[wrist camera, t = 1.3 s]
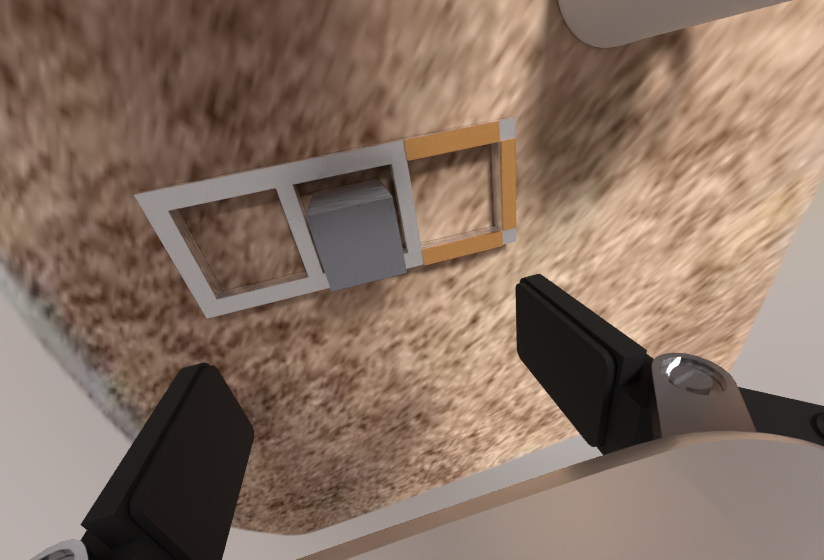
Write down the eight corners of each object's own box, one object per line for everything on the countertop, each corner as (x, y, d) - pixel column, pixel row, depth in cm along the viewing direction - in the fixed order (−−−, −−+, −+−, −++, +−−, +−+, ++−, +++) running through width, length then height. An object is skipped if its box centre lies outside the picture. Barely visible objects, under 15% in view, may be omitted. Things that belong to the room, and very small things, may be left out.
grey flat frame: (145, 190, 19) (131, 195, 17) (506, 117, 21) (516, 117, 20) (212, 309, 23) (205, 320, 22) (508, 236, 25) (517, 242, 24)
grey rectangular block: (313, 191, 21) (305, 216, 16) (378, 178, 21) (392, 197, 16) (332, 252, 23) (331, 291, 18) (391, 238, 23) (407, 272, 18)
